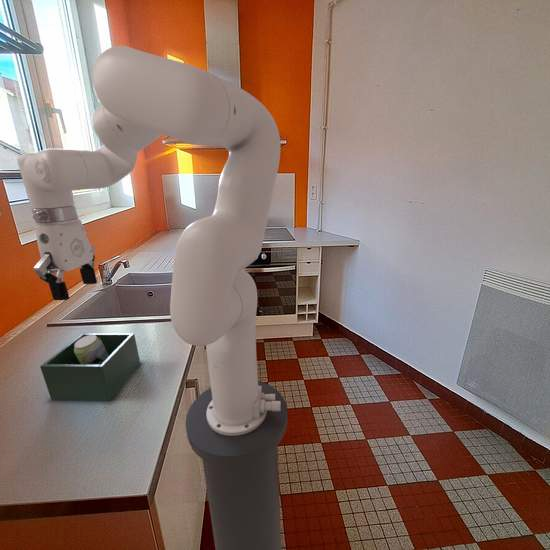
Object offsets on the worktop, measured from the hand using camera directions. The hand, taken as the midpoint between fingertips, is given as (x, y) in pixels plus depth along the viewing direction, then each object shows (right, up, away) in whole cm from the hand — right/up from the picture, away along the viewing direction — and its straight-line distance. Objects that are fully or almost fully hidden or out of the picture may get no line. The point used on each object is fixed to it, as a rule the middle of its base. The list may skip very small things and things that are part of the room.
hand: (77, 291), depth 69 cm
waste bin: (0, -23, +9) cm, 25 cm away
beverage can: (0, -23, +8) cm, 25 cm away
